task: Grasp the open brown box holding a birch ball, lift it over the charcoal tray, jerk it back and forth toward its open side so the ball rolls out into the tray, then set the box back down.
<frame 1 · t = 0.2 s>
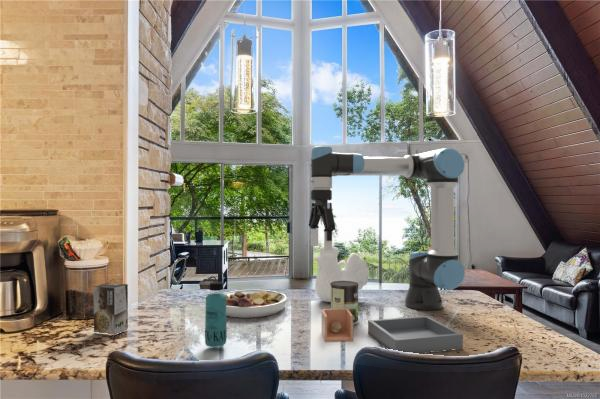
hand: (321, 248, 147), 27 cm above the kitchen island, tool pointing down, fingers open, 13 cm apart
coffee can: (344, 321, 150), on the kitchen island
tray: (412, 341, 129), on the kitchen island
ball: (336, 327, 135), point 2 cm above the kitchen island, touching open brown box
bowl: (250, 310, 167), on the kitchen island
decorative rooster: (342, 302, 178), on the kitchen island
beverage bottle: (215, 349, 123), on the kitchen island
open brown box: (336, 336, 134), on the kitchen island, touching ball
coffee box: (110, 333, 137), on the kitchen island
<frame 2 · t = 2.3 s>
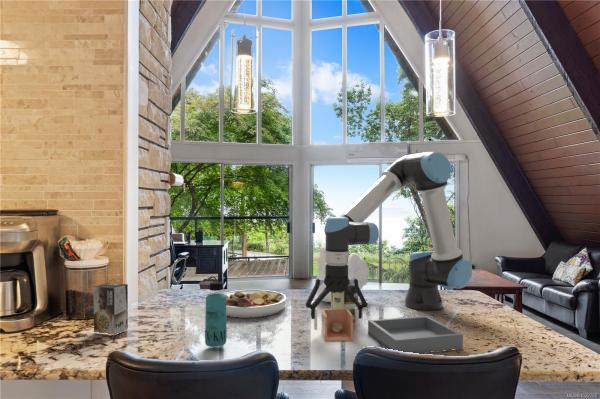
hand: (336, 328, 133), 2 cm above the kitchen island, tool pointing down, fingers open, 13 cm apart
ball: (336, 327, 135), point 2 cm above the kitchen island, tilted 13°, touching open brown box
everything else where it was.
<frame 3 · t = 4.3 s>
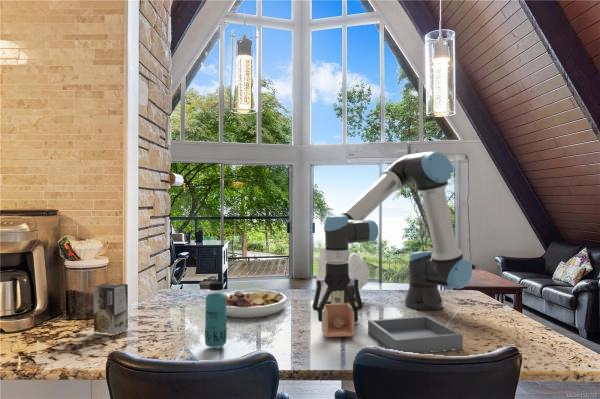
hand: (337, 330, 134), 2 cm above the kitchen island, tool pointing down, fingers closed on open brown box, 9 cm apart
ball: (338, 322, 135), point 4 cm above the kitchen island, tilted 14°, touching open brown box
open brown box: (337, 331, 134), point 1 cm above the kitchen island, touching ball, gripper
everything else where it was.
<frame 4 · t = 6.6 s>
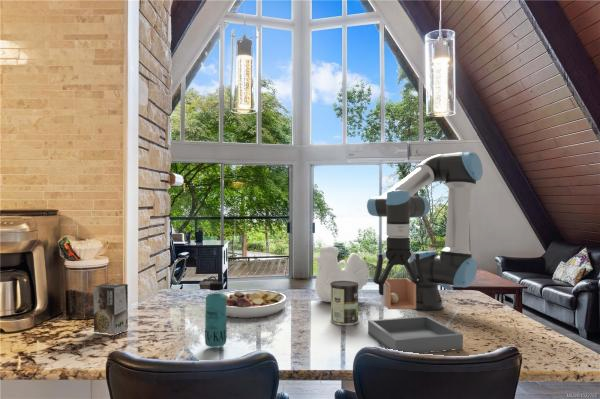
hand: (398, 304, 135), 10 cm above the kitchen island, tool pointing down, fingers closed on open brown box, 9 cm apart
ball: (393, 298, 134), point 12 cm above the kitchen island, tilted 95°, touching open brown box
open brown box: (398, 305, 135), point 10 cm above the kitchen island, touching ball, gripper
everything else where it was.
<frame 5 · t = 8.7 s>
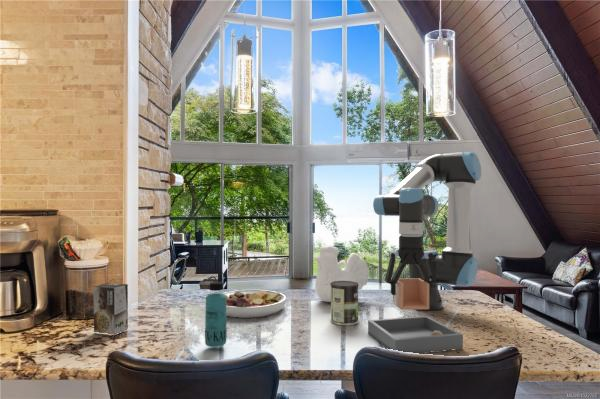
hand: (410, 304, 132), 11 cm above the kitchen island, tool pointing down, fingers closed on open brown box, 9 cm apart
ball: (437, 336, 125), point 3 cm above the kitchen island, tilted 76°, touching tray
open brown box: (410, 305, 132), point 10 cm above the kitchen island, touching gripper
everything else where it was.
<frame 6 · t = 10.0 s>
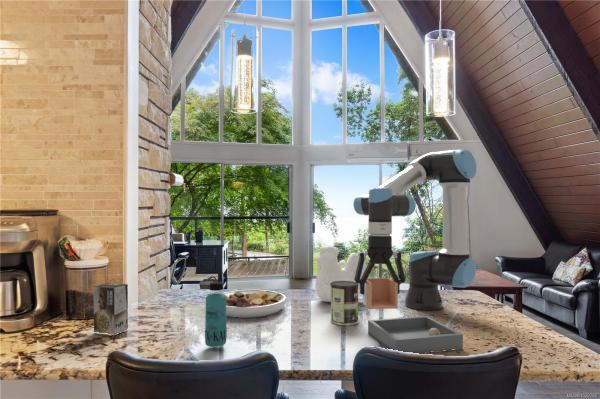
hand: (379, 304, 132), 11 cm above the kitchen island, tool pointing down, fingers closed on open brown box, 9 cm apart
ball: (434, 334, 127), point 3 cm above the kitchen island, tilted 38°, touching tray
open brown box: (379, 305, 132), point 11 cm above the kitchen island, touching gripper
everything else where it was.
when the fingers open (1 cm above the kitchen island, at t = 13.1 s): open brown box stays where it is, on the kitchen island.
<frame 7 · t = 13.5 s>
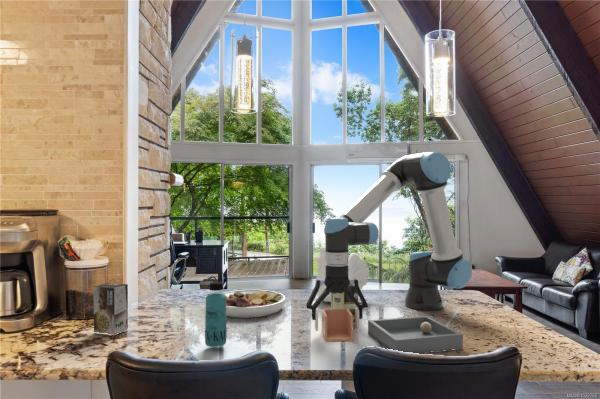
hand: (336, 329, 134), 2 cm above the kitchen island, tool pointing down, fingers open, 13 cm apart
ball: (426, 327, 134), point 3 cm above the kitchen island, tilted 133°, touching tray
open brown box: (336, 336, 134), on the kitchen island
everything else where it was.
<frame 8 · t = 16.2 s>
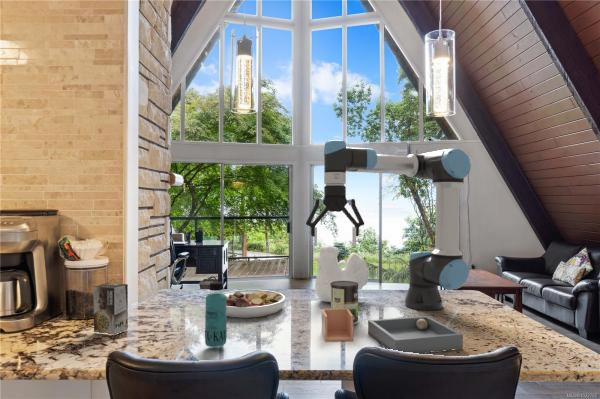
hand: (334, 246, 142), 29 cm above the kitchen island, tool pointing down, fingers open, 13 cm apart
ball: (421, 324, 137), point 3 cm above the kitchen island, tilted 49°, touching tray
everything else where it was.
at the end: ball inside the target area on the tray (10.0 cm from its centre), point 2.8 cm above the tray's base; open brown box tilted 0° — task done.
